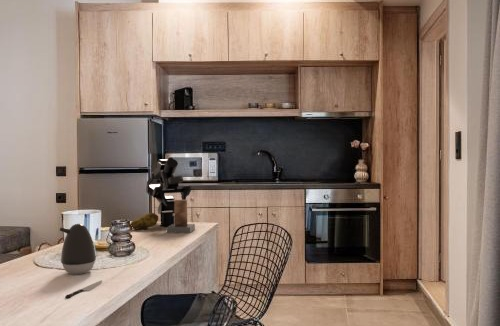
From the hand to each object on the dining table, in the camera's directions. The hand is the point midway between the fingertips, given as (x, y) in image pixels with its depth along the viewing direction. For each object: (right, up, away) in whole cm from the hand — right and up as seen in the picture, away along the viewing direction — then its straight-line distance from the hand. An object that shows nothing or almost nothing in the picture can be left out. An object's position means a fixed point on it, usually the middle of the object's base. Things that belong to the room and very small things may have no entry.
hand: (176, 205), depth 236 cm
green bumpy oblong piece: (-15, -12, +1) cm, 19 cm away
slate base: (+3, -12, -6) cm, 13 cm away
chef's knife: (-8, -14, -104) cm, 105 cm away
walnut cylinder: (+3, -9, -6) cm, 11 cm away
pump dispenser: (-17, -14, -85) cm, 88 cm away
